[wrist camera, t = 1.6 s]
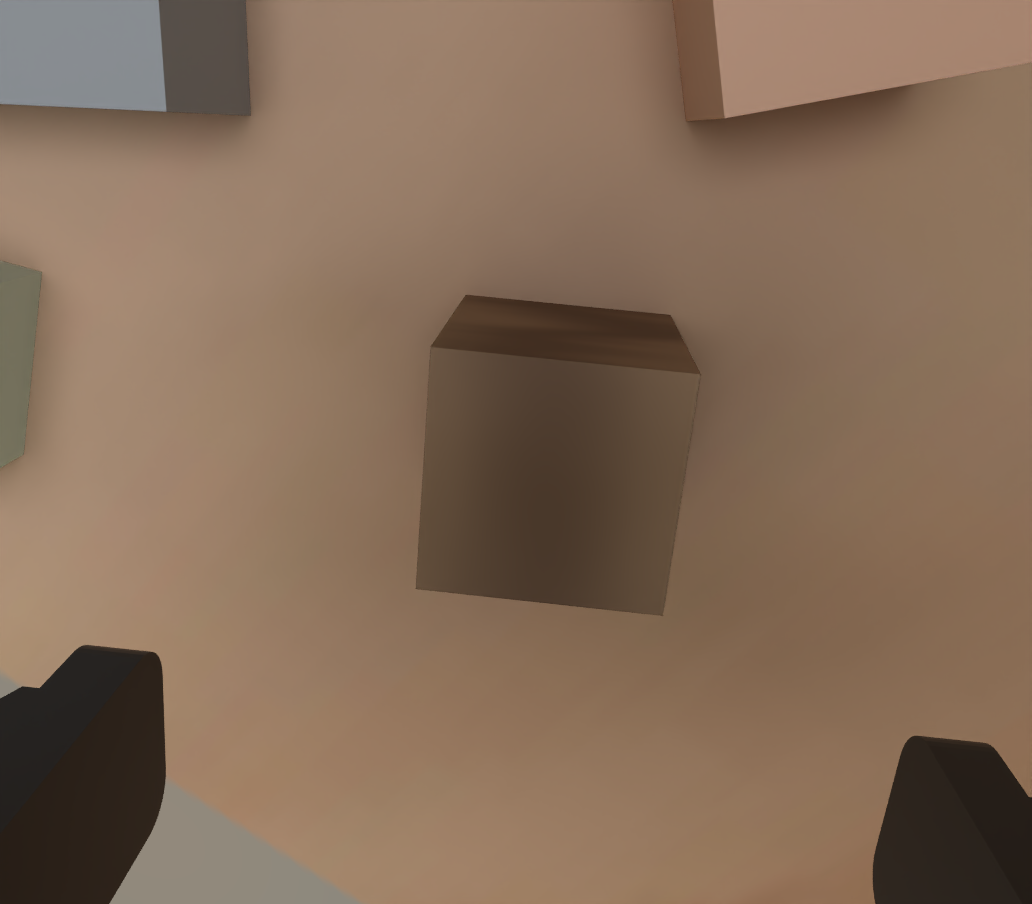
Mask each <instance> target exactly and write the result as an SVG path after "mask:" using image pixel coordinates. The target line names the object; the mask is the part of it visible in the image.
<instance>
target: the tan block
mask: <svg viewBox="0 0 1032 904" xmlns="http://www.w3.org/2000/svg"><path fill="white" fill-rule="evenodd" d="M672 1H673V10H674V19H675V28H676V37H677V46H678V55H679V64H680V73H681V82H682V90H683V99H684V108H685V117H686V121H697V120H709V119H722V118H729V117H735V116H740V115H746V114H751V113H757V112H762V111H768V110H773V109H779V108H784V107H790V106H795V105H801V104H806V103H812V102H817V101H823V100H828V99H834V98H839V97H845V96H850V95H856V94H861V93H867V92H872V91H878V90H883V89H888V88H894V87H899V86H905V85H910V84H916V83H921V82H927V81H932V80H938V79H943V78H949V77H954V76H960V75H965V74H971V73H976V72H982V71H987V70H993V69H998V68H1004V67H1009V66H1015V65H1020V64H1026V63H1031V62H1032V0H672Z"/></svg>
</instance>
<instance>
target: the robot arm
mask: <svg viewBox="0 0 1032 904" xmlns="http://www.w3.org/2000/svg"><path fill="white" fill-rule="evenodd" d="M165 778H166V763H165V733H164V703H163V674H162V666H161V661H160V659H159V657H158V655H157V654H156V653H154V652H148V651H139V650H129V649H120V648H110V647H101V646H92V645H83V646H81V647H79V648H78V649H77V650H75V651H74V652H73V653H72V654H71V655H70V657H69V658H68V659H67V660H66V661H65V662H64V663H63V664H62V665H61V666H60V667H59V668H58V669H57V670H56V671H55V672H54V673H53V675H52V676H51V677H50V678H49V679H48V680H47V681H46V682H45V683H44V684H43V685H42V686H41V687H40V688H32V687H23V686H22V687H21V688H19V689H17V690H15V691H14V692H11V693H10V694H8V695H6V696H4V697H2V698H0V904H109V903H110V901H111V900H112V898H113V897H114V895H115V893H116V891H117V890H118V888H119V886H120V885H121V883H122V881H123V880H124V878H125V876H126V875H127V873H128V871H129V869H130V868H131V866H132V864H133V863H134V861H135V859H136V858H137V856H138V854H139V853H140V851H141V849H142V847H143V846H144V844H145V842H146V841H147V839H148V837H149V835H150V834H151V832H152V830H153V827H154V825H155V822H156V819H157V817H158V814H159V811H160V807H161V803H162V799H163V794H164V787H165ZM873 890H874V898H875V903H876V904H1032V798H1031V797H1028V795H1027V794H1026V792H1025V791H1024V789H1023V788H1022V787H1021V785H1020V784H1019V782H1018V781H1017V779H1016V778H1015V777H1014V775H1013V774H1012V772H1011V771H1010V769H1009V768H1008V767H1007V765H1006V764H1005V762H1004V761H1003V759H1002V758H1001V757H1000V755H999V754H998V752H997V751H996V750H995V749H994V748H993V747H992V746H991V745H989V744H987V743H980V742H971V741H961V740H952V739H943V738H933V737H924V736H913V737H911V738H910V739H908V741H907V742H906V743H905V745H904V747H903V749H902V752H901V756H900V759H899V763H898V767H897V770H896V774H895V778H894V782H893V786H892V789H891V793H890V797H889V801H888V805H887V808H886V812H885V816H884V820H883V823H882V827H881V831H880V835H879V839H878V842H877V846H876V850H875V855H874V862H873Z"/></svg>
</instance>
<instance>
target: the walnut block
mask: <svg viewBox="0 0 1032 904" xmlns="http://www.w3.org/2000/svg"><path fill="white" fill-rule="evenodd" d="M700 376H701V374H700V372H699V370H698V368H697V366H696V364H695V362H694V360H693V358H692V356H691V355H690V353H689V351H688V349H687V347H686V345H685V343H684V341H683V339H682V337H681V335H680V333H679V331H678V329H677V327H676V325H675V323H674V321H673V319H672V318H671V316H670V315H664V314H653V313H643V312H633V311H623V310H613V309H603V308H593V307H583V306H573V305H563V304H553V303H543V302H533V301H523V300H513V299H503V298H493V297H483V296H473V295H466V296H465V297H464V298H463V300H462V301H461V303H460V304H459V306H458V307H457V309H456V310H455V312H454V313H453V315H452V316H451V318H450V319H449V321H448V322H447V324H446V325H445V327H444V328H443V329H442V331H441V332H440V334H439V335H438V337H437V338H436V340H435V341H434V343H433V344H432V346H431V349H430V365H429V381H428V398H427V414H426V430H425V447H424V463H423V479H422V496H421V512H420V528H419V545H418V561H417V577H416V589H421V590H430V591H439V592H448V593H458V594H467V595H476V596H485V597H494V598H504V599H513V600H522V601H531V602H540V603H550V604H559V605H568V606H577V607H586V608H596V609H605V610H614V611H623V612H632V613H642V614H651V615H660V616H663V612H664V605H665V599H666V593H667V586H668V580H669V573H670V567H671V561H672V554H673V548H674V542H675V535H676V529H677V522H678V516H679V510H680V503H681V497H682V491H683V484H684V478H685V471H686V465H687V459H688V452H689V446H690V440H691V433H692V427H693V421H694V414H695V408H696V401H697V395H698V389H699V382H700Z"/></svg>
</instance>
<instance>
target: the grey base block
mask: <svg viewBox="0 0 1032 904" xmlns="http://www.w3.org/2000/svg"><path fill="white" fill-rule="evenodd" d="M0 104H10V105H31V106H53V107H75V108H96V109H118V110H140V111H161V112H183V113H205V114H226V115H248V116H251V111H250V89H249V66H248V43H247V21H246V0H0Z"/></svg>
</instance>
